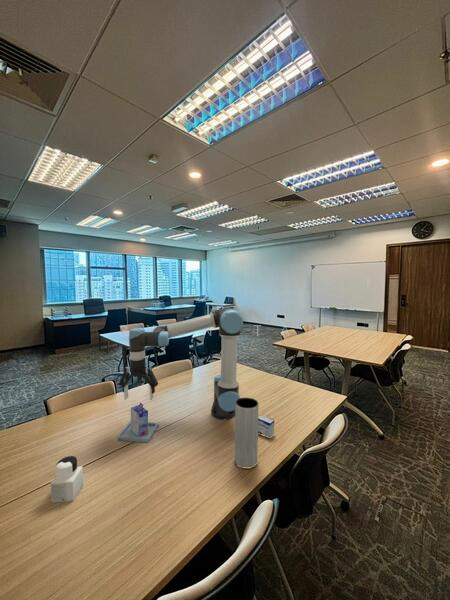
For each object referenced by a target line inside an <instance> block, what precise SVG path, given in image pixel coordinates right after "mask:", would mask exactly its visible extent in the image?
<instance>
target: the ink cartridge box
mask: <svg viewBox="0 0 450 600" xmlns="http://www.w3.org/2000/svg"><path fill="white" fill-rule="evenodd" d="M130 421H131V430H132V431H133V432H134V433H135V434H136V435H137V436H138V437H140V436H143V435H146V434H148V422H149V410H148V409H146V408H145V407H144V404H143V403H142V402H140V403H139V404H137V405H134V406H132V407H130Z"/></svg>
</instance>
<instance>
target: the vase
mask: <svg viewBox="0 0 450 600" xmlns="http://www.w3.org/2000/svg"><path fill="white" fill-rule="evenodd" d="M234 417H235V418H234V419H235V421H234V463H235V462H236V463H237V465H239V466H241V467H252V466H254V465H255V464H256V463H257V464H258V447H259V446H258V444H259V434H258V418H259V402H258V400H256V399H255V398H252V397H240V399H238V400H237V401H236V404H235V416H234ZM236 463H235V464H236ZM237 465H236V466H237Z"/></svg>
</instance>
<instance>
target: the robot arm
mask: <svg viewBox="0 0 450 600" xmlns="http://www.w3.org/2000/svg"><path fill="white" fill-rule="evenodd" d="M243 319H244V318H243V316H242V315H241V313H240V312H239V311H237V310H235V309H233V308H230V307H224V308H220V309H217V310H213V311H211V312H210V313H209V314H206V315H202V316H198V317H193V318H190V319H186V320H183V321H182V320H181V321H177V322H174V323H170V324H166V325H158V326H156V327H155V328H153V330H152V331H145V328H144V327H133V328H131V329H130V330H129V331H128V332H129V333H128V335H129V336H128V345H129V346H128V347H129V366H125V368H124V369H123V374H122V376H121V378H120V380H119V382H118V386H121V387H122V393H123V394H124V396H123V398H124V400H127V399H128V398H129V384H128V383H129V382H130V381H131V379H132V378H133V377H135V378H137V377H138V378H143V380H144V381H146V383H147V384H148V385H149V386H150V387H149V401H153V399H154V394H155V392H156V390H155V389H156V387H157V386H158V385H159V382H158V379H157V378H156V376H155V373H154V372H153V368H152V366H150V367H146V364H147V363H146V358H145V357H146V347H147V348H151V347H165V346H168V345H169V342H170V338H175V337H179V336H183V335H187V334H191V333H196V332H198V331H202V330H206V329H209V328H213V329H217V328H218V330H219V331H218V335H219V336H220V337H221V350H220V351H221V353H220V354H221V356H220V374H218V375H215V376H214V377H213V378H214V379H213V382H214V383H213V384H214V385H213V403H212V406H211V409H210V415H211V416H212V417H213V418H214V419H217V420H224V419H226V420H230V418H231V419H233V418H234V417H235V404H236V401H237V400H238V399H240V398H241V396H240V394H239V393H240V391H239V389H240V384H239V382H238V380H237V371H238V370H237V369H238V368H237V367H238V339H239V337H240V336H241V334H242V333H241V330H242V328H243V326H244V325H243V324H244V320H243ZM129 371H130V374H129V376H128V377H127V375H128V373H129ZM126 378H127V379H126ZM232 417H233V418H232ZM224 421H225V420H224Z"/></svg>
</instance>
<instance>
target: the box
mask: <svg viewBox="0 0 450 600" xmlns="http://www.w3.org/2000/svg"><path fill="white" fill-rule="evenodd" d="M258 433H260V434H263V435H265V436H268V437H271V436H272V435H273V434H274V435H275V419H272V418H271V417H267V416H265V415H260V416H258ZM260 434H259V435H260Z"/></svg>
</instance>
